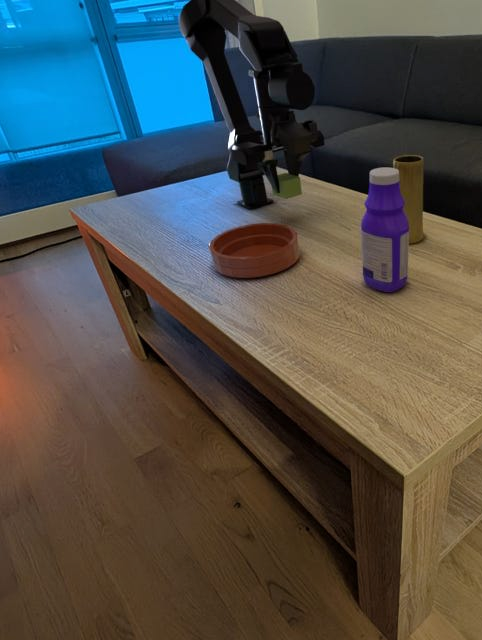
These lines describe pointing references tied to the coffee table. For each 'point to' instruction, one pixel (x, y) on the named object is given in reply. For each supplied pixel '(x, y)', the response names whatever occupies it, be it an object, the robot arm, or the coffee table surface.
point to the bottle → (385, 233)
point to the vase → (412, 192)
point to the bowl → (255, 250)
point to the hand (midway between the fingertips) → (286, 190)
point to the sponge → (288, 186)
